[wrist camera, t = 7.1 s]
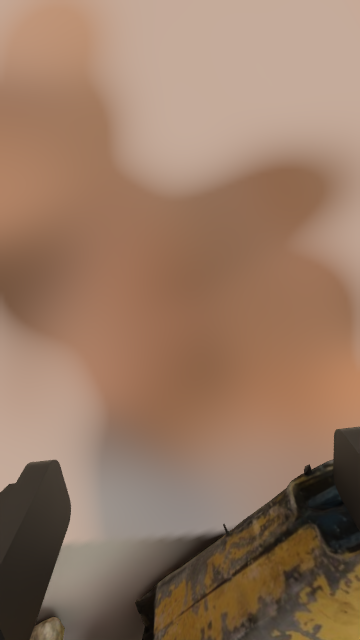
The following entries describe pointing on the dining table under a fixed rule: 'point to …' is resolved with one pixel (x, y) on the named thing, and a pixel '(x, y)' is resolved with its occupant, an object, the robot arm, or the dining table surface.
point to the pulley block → (264, 575)
